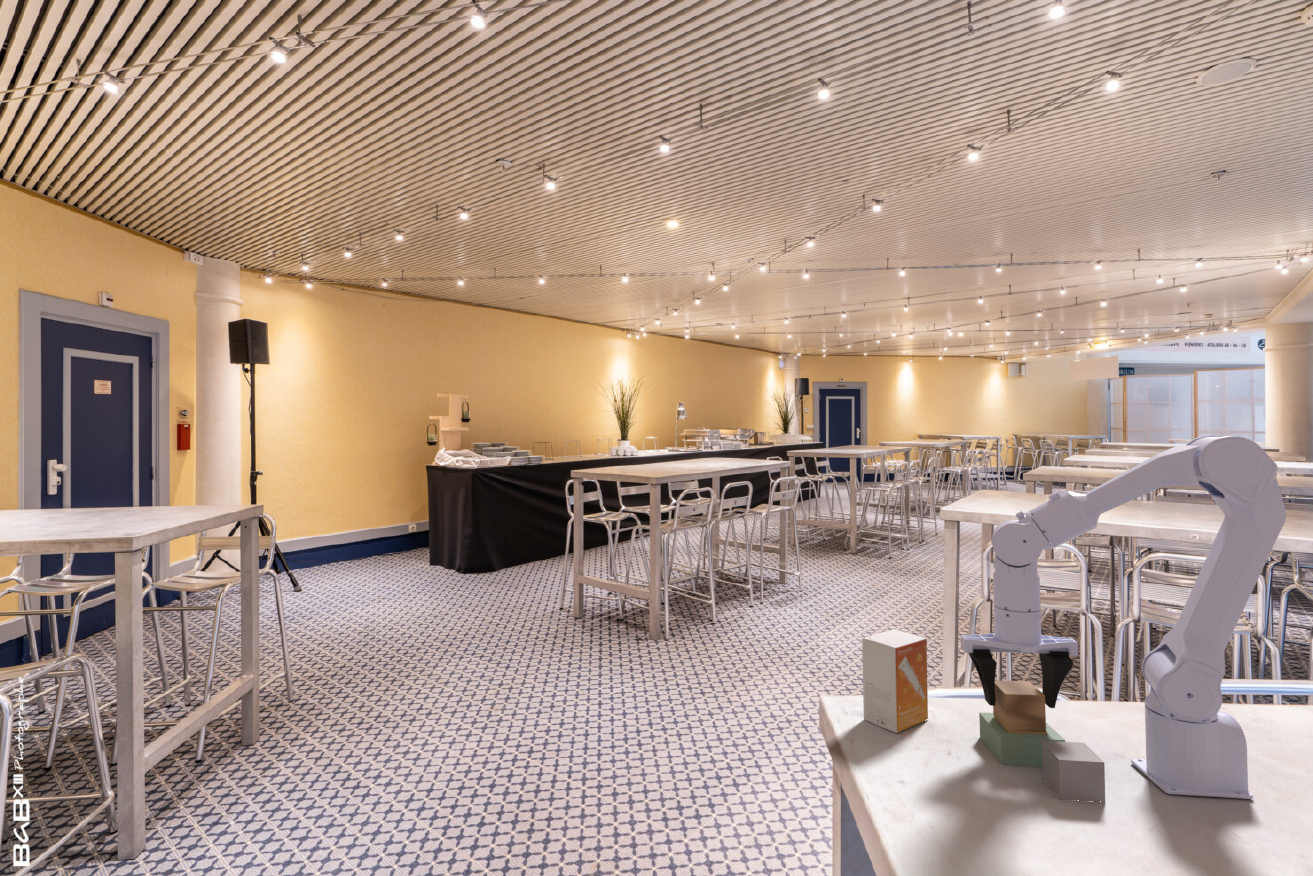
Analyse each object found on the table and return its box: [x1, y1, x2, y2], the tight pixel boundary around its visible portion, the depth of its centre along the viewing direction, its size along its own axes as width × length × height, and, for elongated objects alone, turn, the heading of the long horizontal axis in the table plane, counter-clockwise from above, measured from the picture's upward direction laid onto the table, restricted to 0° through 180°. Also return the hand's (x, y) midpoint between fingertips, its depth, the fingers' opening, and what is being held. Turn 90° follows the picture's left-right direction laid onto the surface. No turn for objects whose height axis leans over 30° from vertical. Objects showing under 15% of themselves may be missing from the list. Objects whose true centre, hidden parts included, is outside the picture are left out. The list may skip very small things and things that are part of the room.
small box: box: [861, 628, 929, 734], centre depth 100 cm, size 8×6×13 cm
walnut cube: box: [992, 679, 1047, 732], centre depth 89 cm, size 5×5×5 cm
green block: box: [978, 712, 1066, 768], centre depth 89 cm, size 8×8×4 cm
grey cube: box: [1041, 740, 1106, 803], centre depth 80 cm, size 5×5×5 cm
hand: (1019, 704), depth 89 cm, fingers open, 7 cm apart
